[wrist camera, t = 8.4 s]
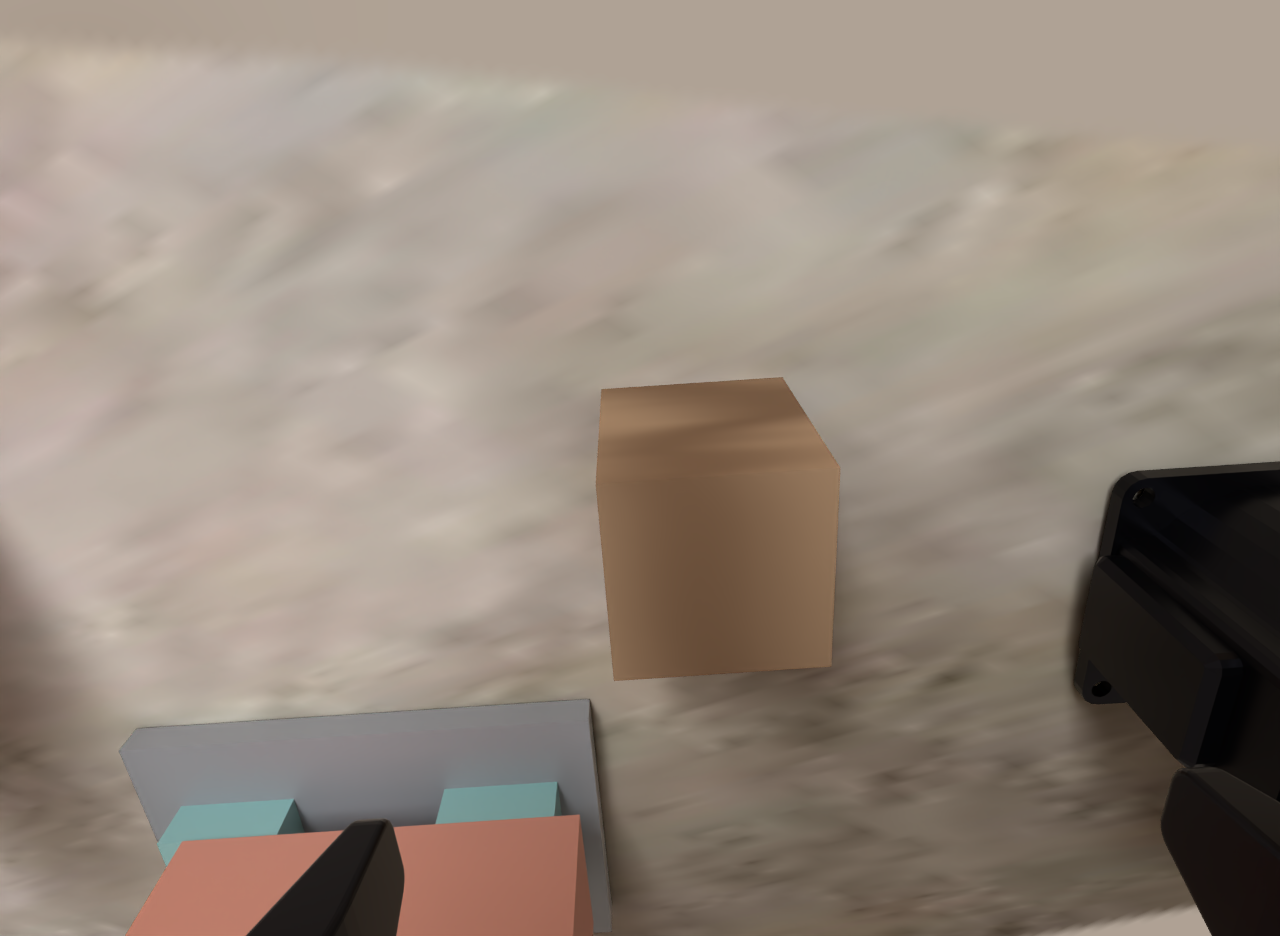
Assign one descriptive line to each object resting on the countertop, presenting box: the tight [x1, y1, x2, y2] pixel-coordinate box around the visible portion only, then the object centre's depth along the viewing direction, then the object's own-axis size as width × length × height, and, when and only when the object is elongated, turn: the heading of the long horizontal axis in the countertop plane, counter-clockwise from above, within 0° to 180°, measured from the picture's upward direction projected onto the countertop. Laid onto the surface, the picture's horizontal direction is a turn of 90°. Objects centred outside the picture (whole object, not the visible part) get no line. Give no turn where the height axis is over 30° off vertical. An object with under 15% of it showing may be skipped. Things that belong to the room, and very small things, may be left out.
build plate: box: [119, 699, 612, 933], centre depth 21 cm, size 12×8×2 cm, turn 93°
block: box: [596, 377, 840, 681], centre depth 16 cm, size 4×4×5 cm
